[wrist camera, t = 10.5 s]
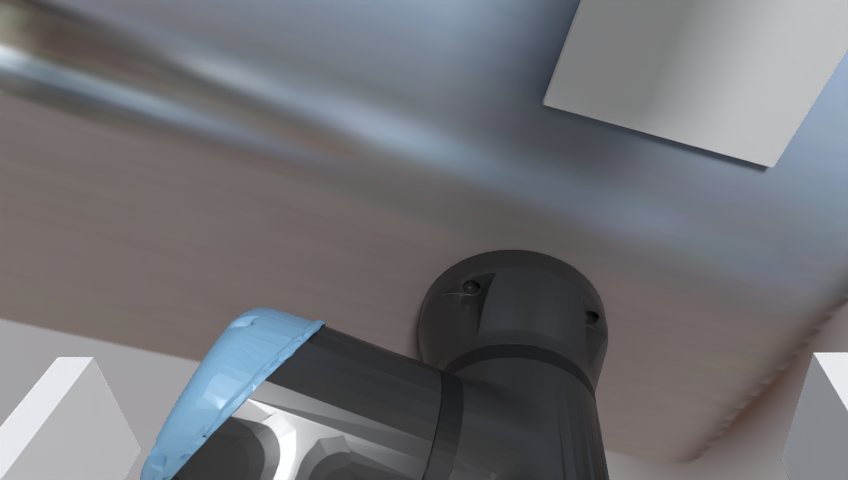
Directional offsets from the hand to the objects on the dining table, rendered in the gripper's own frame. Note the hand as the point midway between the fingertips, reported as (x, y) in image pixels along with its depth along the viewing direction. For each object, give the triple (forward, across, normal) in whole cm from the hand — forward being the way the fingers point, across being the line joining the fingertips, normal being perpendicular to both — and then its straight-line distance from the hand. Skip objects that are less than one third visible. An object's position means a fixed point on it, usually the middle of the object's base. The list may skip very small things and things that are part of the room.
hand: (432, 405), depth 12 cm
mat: (+32, -14, +2) cm, 35 cm away
